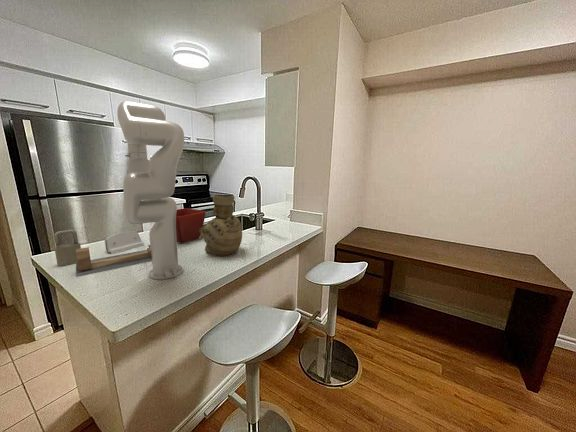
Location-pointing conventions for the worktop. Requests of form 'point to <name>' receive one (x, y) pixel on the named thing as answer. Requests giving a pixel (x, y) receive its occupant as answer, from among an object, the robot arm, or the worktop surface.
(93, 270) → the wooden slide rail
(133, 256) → the rail
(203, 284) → the worktop surface
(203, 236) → the ceramic vessel
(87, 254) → the slider leg
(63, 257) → the padlock
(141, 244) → the hinge
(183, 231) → the plant pot
